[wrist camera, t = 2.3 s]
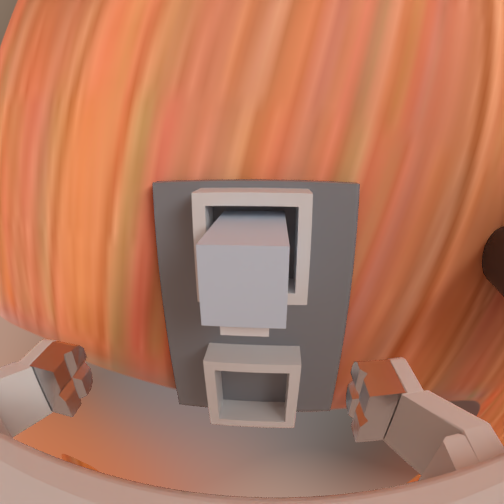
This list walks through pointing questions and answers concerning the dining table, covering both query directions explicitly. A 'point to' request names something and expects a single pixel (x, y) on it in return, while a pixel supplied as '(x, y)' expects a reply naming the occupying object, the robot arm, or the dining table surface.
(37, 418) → the robot arm
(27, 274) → the dining table surface
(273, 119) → the dining table surface
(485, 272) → the coffee cup
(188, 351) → the panel
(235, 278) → the plug
